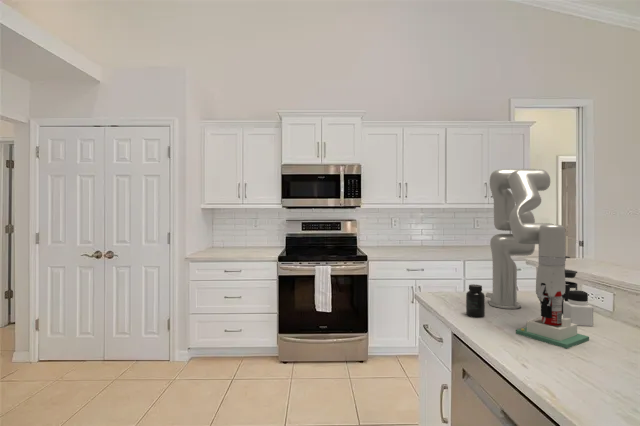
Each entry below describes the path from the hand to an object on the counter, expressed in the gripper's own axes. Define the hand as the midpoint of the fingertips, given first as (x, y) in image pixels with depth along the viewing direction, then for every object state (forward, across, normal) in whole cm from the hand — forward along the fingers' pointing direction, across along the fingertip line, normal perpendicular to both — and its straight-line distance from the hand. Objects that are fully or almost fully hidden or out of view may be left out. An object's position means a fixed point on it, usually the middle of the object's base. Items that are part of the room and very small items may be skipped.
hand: (551, 315), depth 122 cm
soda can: (+3, 0, 0) cm, 3 cm away
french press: (+7, -36, -14) cm, 39 cm away
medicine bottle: (+7, -24, -3) cm, 25 cm away
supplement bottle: (+7, 0, -29) cm, 30 cm away
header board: (+7, 0, 0) cm, 7 cm away
